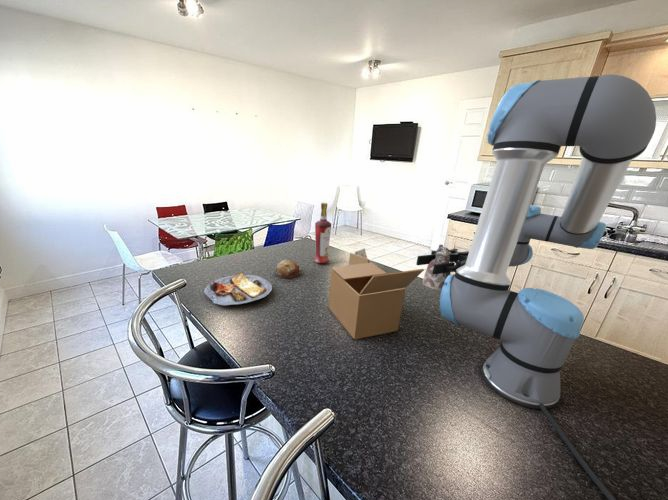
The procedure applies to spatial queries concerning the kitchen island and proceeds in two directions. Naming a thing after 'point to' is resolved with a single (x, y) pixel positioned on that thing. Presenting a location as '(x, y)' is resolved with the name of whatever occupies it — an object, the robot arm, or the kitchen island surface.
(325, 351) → the kitchen island surface
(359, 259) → the sandwich container
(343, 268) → the carton
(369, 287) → the flap
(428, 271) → the figurine
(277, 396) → the kitchen island surface
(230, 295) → the food plate
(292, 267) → the bread roll
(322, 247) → the liquor
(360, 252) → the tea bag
